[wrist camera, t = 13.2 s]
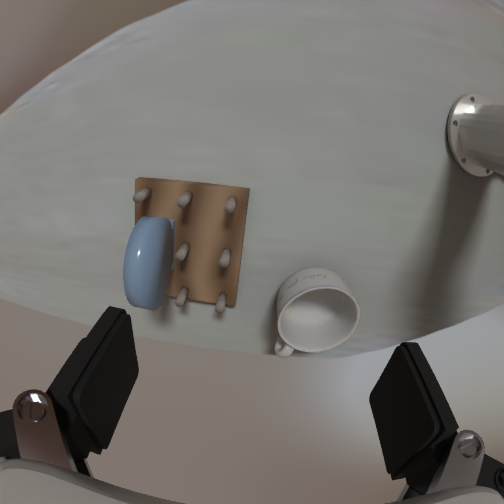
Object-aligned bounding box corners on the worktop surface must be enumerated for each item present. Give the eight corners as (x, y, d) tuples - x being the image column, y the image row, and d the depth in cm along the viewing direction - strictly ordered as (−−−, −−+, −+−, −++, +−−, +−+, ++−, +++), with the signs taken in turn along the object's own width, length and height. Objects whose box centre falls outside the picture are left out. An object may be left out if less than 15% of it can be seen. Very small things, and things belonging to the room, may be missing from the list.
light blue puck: (175, 205, 37) (142, 238, 27) (174, 279, 42) (147, 329, 31) (158, 203, 37) (120, 235, 27) (158, 276, 42) (128, 324, 31)
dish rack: (249, 188, 37) (247, 197, 33) (235, 300, 44) (232, 320, 40) (139, 177, 37) (123, 185, 33) (141, 285, 44) (129, 303, 40)
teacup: (317, 243, 40) (327, 270, 33) (360, 291, 43) (375, 323, 36) (245, 302, 45) (241, 336, 37) (292, 341, 47) (295, 376, 40)
